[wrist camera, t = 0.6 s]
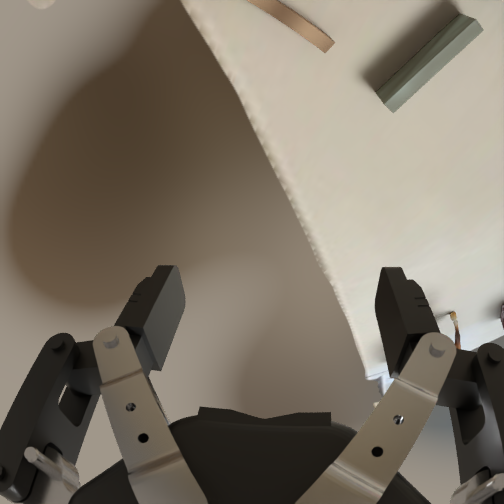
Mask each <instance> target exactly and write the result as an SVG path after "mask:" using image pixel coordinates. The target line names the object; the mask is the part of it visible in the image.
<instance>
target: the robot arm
mask: <svg viewBox="0 0 504 504" xmlns="http://www.w3.org/2000/svg"><path fill="white" fill-rule="evenodd" d="M184 308H185V294H184V290H183V285H182V281H181V277H180V273H179V270H178V267H177V266H173V265H159V266H157V268H156V270H155V271H154V273H153V275H152V276H151V277H146V278H145V279H144V280H143V281H141V282H140V283H139V284H138V285H137V287H136V288H135V290H134V292H133V295H131V297H130V299H129V302H127V304H126V305H125V307H124V309H123V311H122V312H121V314H120V316H119V318H118V319H117V321H116V323H115V325H114V326H111V327H107V328H105V329H103V330H101V331H100V332H99V333H98V334H97V335H96V336H95V338H94V340H92V341H85V342H77V343H76V342H75V340H74V338H73V337H72V336H71V335H70V334H68V333H60V334H56V335H54V336H52V337H51V338H50V339H49V340H48V341H47V342H46V343H45V345H44V347H43V348H42V350H41V352H40V353H39V355H38V357H37V359H36V361H35V362H34V364H33V366H32V368H31V370H30V371H29V374H28V375H27V377H26V379H25V381H24V383H23V385H22V386H21V388H20V390H19V392H18V394H17V396H16V398H15V400H14V402H13V404H12V406H11V408H10V410H9V412H8V414H7V417H6V419H5V421H4V423H3V425H2V427H1V430H0V495H2V496H4V497H5V498H6V499H7V500H9V501H10V502H12V503H14V504H431V503H430V502H429V501H428V500H427V499H426V498H425V497H424V496H423V495H422V494H421V493H420V492H419V491H418V490H417V489H416V488H415V487H413V486H412V485H411V484H410V483H409V482H408V481H407V480H406V479H405V478H404V477H403V476H402V475H401V474H400V473H399V472H398V470H399V468H400V467H401V465H402V463H403V462H404V460H405V458H406V457H407V455H408V454H409V452H410V450H411V449H412V447H413V445H414V444H415V442H416V440H417V438H418V436H419V435H420V433H421V431H422V429H423V427H424V426H425V424H426V422H427V420H428V418H429V416H430V414H431V412H432V410H433V408H434V406H435V405H440V406H446V407H449V410H450V415H451V420H452V426H453V432H454V437H455V444H456V450H457V457H458V465H459V473H460V483H461V486H459V487H458V488H457V489H456V490H455V491H454V493H453V495H452V497H451V500H450V504H504V349H503V348H502V347H501V346H499V345H497V344H494V343H485V344H483V345H481V346H480V347H479V349H478V351H477V352H471V351H466V350H461V349H457V348H456V346H455V344H454V342H453V341H452V340H451V339H450V338H449V337H448V336H446V335H444V334H441V333H440V330H439V328H438V325H437V323H436V320H435V318H434V315H433V313H432V311H431V308H430V307H429V304H428V301H427V299H426V297H425V295H424V292H423V290H422V288H421V287H420V286H419V285H418V284H417V283H416V282H415V281H414V280H407V279H406V277H405V274H404V272H403V270H402V268H401V267H382V269H381V272H380V278H379V283H378V288H377V293H376V297H375V313H376V317H377V321H378V326H379V330H380V334H381V338H382V343H383V347H384V351H385V356H386V361H387V365H388V370H389V375H390V378H395V380H394V381H393V382H392V384H391V386H390V387H389V389H388V390H387V392H386V393H385V395H384V396H383V398H382V399H381V401H380V402H379V404H378V405H377V406H376V408H375V409H374V411H373V412H372V414H371V415H370V416H369V418H368V419H367V420H366V422H365V423H364V425H363V426H362V427H361V429H360V430H359V431H358V432H357V431H355V430H354V429H352V428H350V427H348V426H346V425H343V424H340V423H337V422H333V421H331V412H325V413H324V412H322V413H294V414H289V415H284V416H279V417H273V418H268V419H261V418H257V417H254V416H251V415H247V414H244V413H240V412H237V411H234V410H230V409H219V408H208V407H200V408H199V412H198V415H196V416H191V417H186V418H183V419H180V420H177V421H175V422H173V423H170V421H169V419H168V417H167V415H166V413H165V411H164V409H163V407H162V405H161V403H160V401H159V398H158V396H157V394H156V392H155V390H154V388H153V385H152V383H151V381H150V379H149V377H148V376H149V374H150V371H151V370H157V371H161V370H162V367H163V365H164V362H165V359H166V357H167V354H168V351H169V348H170V346H171V343H172V341H173V338H174V335H175V333H176V330H177V327H178V324H179V322H180V319H181V317H182V314H183V312H184ZM65 385H66V386H67V387H66V389H65V392H64V394H63V396H62V398H61V401H60V403H59V405H58V401H59V397H60V395H61V393H62V390H63V388H64V386H65ZM100 394H102V398H103V401H104V404H105V408H106V411H107V414H108V417H109V420H110V423H111V426H112V429H113V432H114V435H115V438H116V441H117V444H118V446H119V449H120V452H121V454H122V457H123V459H121V460H120V461H118V462H117V463H116V464H114V465H113V466H111V467H110V468H108V469H107V470H105V471H104V472H103V473H101V474H100V475H98V476H97V477H95V478H94V479H92V480H91V481H89V482H88V483H86V484H84V485H83V486H82V487H80V482H79V473H78V470H77V469H76V467H75V464H76V461H77V458H78V455H79V452H80V449H81V446H82V443H83V440H84V437H85V435H86V432H87V429H88V426H89V423H90V420H91V418H92V415H93V412H94V409H95V407H96V404H97V402H98V399H99V396H100Z"/></svg>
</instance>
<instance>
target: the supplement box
mask: <svg viewBox="0 0 504 504" xmlns="http://www.w3.org/2000/svg"><path fill="white" fill-rule="evenodd" d="M501 322H502V325H503V328H504V305H502V313H501Z"/></svg>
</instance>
